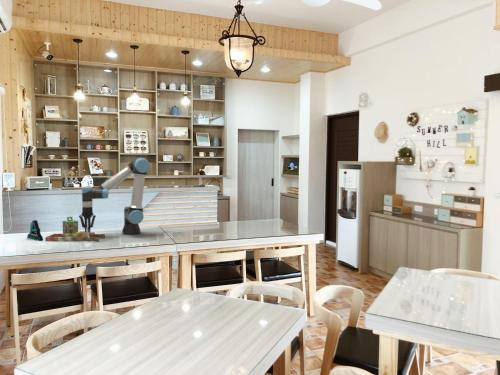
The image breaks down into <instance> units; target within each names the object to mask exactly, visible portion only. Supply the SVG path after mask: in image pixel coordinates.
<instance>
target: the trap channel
mask: <svg viewBox="0 0 500 375" xmlns="http://www.w3.org/2000/svg"><path fill="white" fill-rule="evenodd" d="M105 238H106V234H105V233H95V232H94V231H93V232H92V231H90V232H89V237H76V234H63V233H52V234H49V235H47V236H45V242H78V243H79V242H80V243H81V242H82V241H83V242H84V241H97V243H99V242H100V239H105Z"/></svg>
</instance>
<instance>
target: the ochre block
mask: <svg viewBox="0 0 500 375" xmlns="http://www.w3.org/2000/svg"><path fill="white" fill-rule="evenodd" d="M76 237H86V232H85V230H83V231H82V230H78V232H77V233H76Z"/></svg>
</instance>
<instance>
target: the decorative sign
mask: <svg viewBox="0 0 500 375" xmlns="http://www.w3.org/2000/svg"><path fill="white" fill-rule="evenodd" d="M29 229H30V230H29V233H28V234H27V236H26V237H27V238H26V239H29V240H30V239H31V240H35V241H39V242H41V241H44V238H43V235H42V234H41V228H40V227H39V222H38V220H36V219H35V220H32V221H31V223H30V226H29Z"/></svg>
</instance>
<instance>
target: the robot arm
mask: <svg viewBox="0 0 500 375" xmlns="http://www.w3.org/2000/svg"><path fill="white" fill-rule="evenodd" d="M150 167H151V165H150V162H149V161H148V159H146V158H144V157H137V158H134V159H132V161H131V162H129V163H128V164H126V166H125V167H124V168H122V169H121V170H120V171H119V172H117V173H116V174H114V175H113V176H111V177H110V178H108V180H106V181H104V182H103V183H102V184H100V185H99V186H98V187H95V188H94V189H93V187H92V186H82V188H81V189H82V190H81V202H82V203H81V206H82V208H81V209H82V212H81V214H79V216H78V218H79V219H80V223H81V227H82V228H83V229H84V231H85V232H86V237H89V232H91V228H93V227H94V223H95V218H97V215H95V214H94V212H93V211H94V210H93V200H98V199H101V200H103V199H108V198H109V191H111V190H113V188H115V187H116V186H118V185H120V183H122V182H124V180H127V178H129V177H130V176H132V175H133V176H134V177H133V185H132V193H131V201H130V205H129V206H124V208H123V218H124V221H123V222H124V225H123V227H122V229H121V230H122V232H121V234H122V235H139V234H141V233H142V231H141V228H140V224H141V223H142V221H144V213H143V212H144V207H143V206H142V205H143V197H144V196H143V195H144V188H145V181H146V180H145V179H146V177H147V176H148V171H149V170H150ZM91 218H92V219H91Z"/></svg>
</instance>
